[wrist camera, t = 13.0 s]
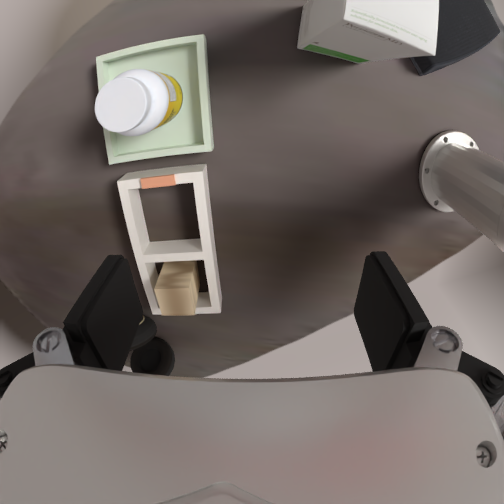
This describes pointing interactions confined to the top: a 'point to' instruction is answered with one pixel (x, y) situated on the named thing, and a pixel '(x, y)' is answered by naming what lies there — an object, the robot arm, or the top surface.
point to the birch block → (178, 288)
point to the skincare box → (369, 29)
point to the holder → (172, 249)
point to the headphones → (150, 351)
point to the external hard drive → (458, 33)
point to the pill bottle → (138, 102)
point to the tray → (193, 107)
